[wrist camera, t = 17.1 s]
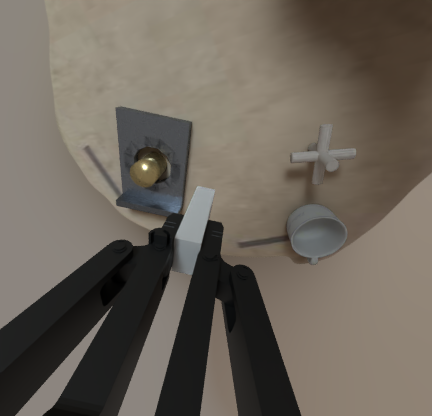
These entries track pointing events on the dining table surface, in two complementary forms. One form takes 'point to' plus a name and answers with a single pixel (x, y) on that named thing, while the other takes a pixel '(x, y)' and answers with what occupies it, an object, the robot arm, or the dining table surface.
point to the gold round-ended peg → (148, 169)
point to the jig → (168, 144)
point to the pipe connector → (323, 155)
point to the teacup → (315, 232)
